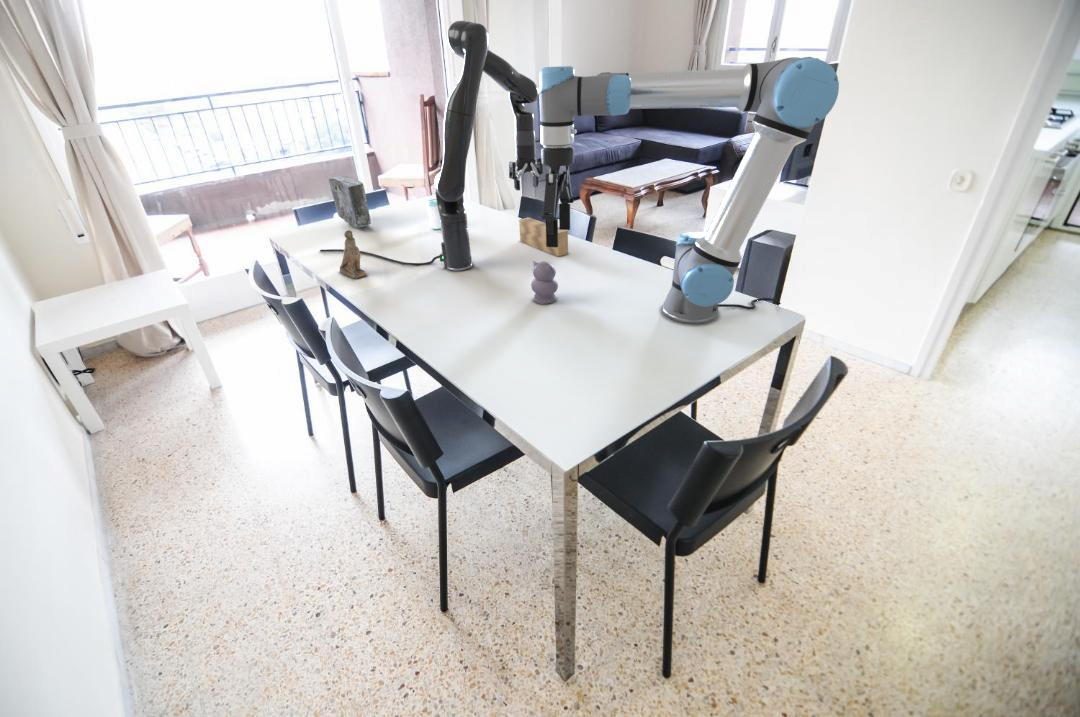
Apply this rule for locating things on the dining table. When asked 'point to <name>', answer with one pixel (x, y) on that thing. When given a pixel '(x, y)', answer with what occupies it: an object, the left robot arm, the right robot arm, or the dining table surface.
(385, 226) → the dining table surface
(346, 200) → the concrete block
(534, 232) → the bar
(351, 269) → the worn brown figurine
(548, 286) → the cat figurine
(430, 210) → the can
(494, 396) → the dining table surface
